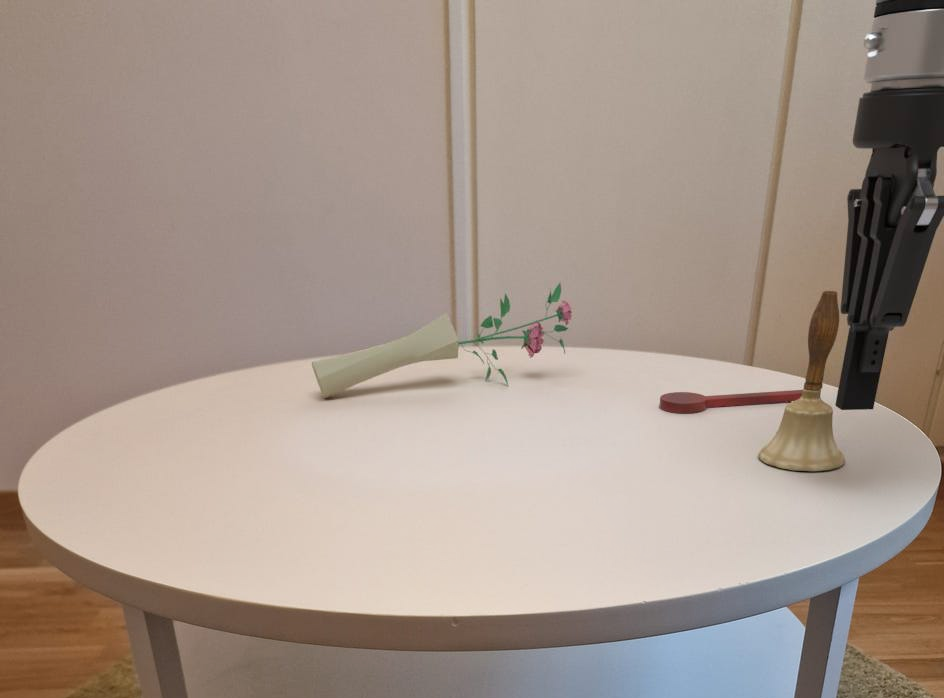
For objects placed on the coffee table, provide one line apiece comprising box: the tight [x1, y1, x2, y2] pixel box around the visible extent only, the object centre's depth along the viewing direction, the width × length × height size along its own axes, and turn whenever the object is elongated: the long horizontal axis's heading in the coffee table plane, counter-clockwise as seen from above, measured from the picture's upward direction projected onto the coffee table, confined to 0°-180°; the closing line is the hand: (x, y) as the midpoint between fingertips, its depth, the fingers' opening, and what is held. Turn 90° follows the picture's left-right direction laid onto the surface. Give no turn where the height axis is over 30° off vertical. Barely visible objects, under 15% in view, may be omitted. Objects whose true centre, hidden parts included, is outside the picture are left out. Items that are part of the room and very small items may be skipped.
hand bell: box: [757, 290, 846, 472], centre depth 85 cm, size 8×8×16 cm
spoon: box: [659, 389, 803, 414], centre depth 108 cm, size 19×6×1 cm, turn 98°
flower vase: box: [311, 281, 573, 399], centre depth 119 cm, size 12×12×35 cm
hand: (854, 407), depth 76 cm, fingers closed
